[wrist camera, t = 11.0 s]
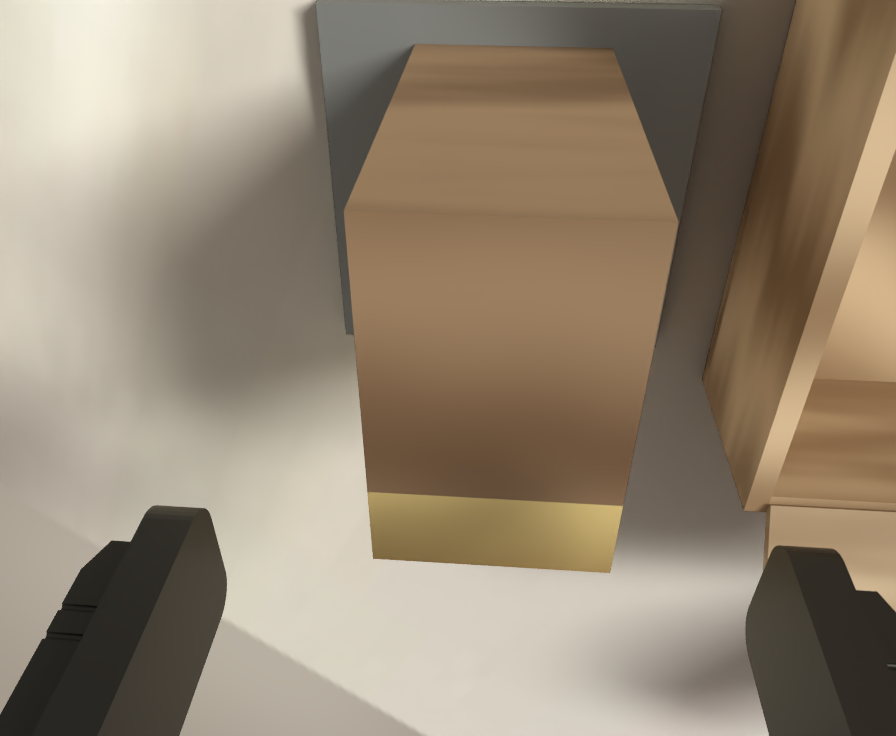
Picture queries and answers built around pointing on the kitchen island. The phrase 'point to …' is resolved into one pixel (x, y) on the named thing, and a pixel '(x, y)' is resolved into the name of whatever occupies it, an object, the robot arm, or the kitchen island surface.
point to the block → (505, 305)
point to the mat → (512, 24)
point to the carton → (819, 299)
